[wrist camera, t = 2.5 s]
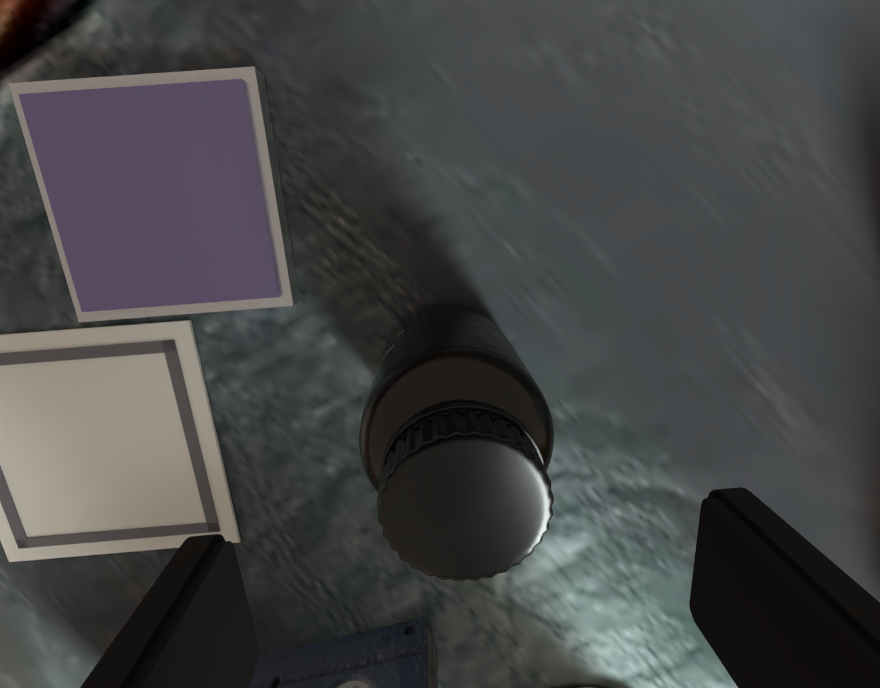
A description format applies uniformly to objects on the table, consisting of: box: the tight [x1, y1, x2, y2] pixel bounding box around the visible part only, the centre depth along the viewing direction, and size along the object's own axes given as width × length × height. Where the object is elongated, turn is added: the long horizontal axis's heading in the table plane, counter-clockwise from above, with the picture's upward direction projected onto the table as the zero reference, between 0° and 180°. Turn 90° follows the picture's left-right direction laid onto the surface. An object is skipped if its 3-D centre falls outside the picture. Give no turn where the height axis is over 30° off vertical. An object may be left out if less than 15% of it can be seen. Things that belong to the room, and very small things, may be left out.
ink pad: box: [8, 66, 300, 322], centre depth 20 cm, size 10×10×2 cm
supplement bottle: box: [359, 304, 554, 582], centre depth 18 cm, size 7×7×12 cm
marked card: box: [0, 320, 241, 562], centre depth 24 cm, size 13×13×1 cm
